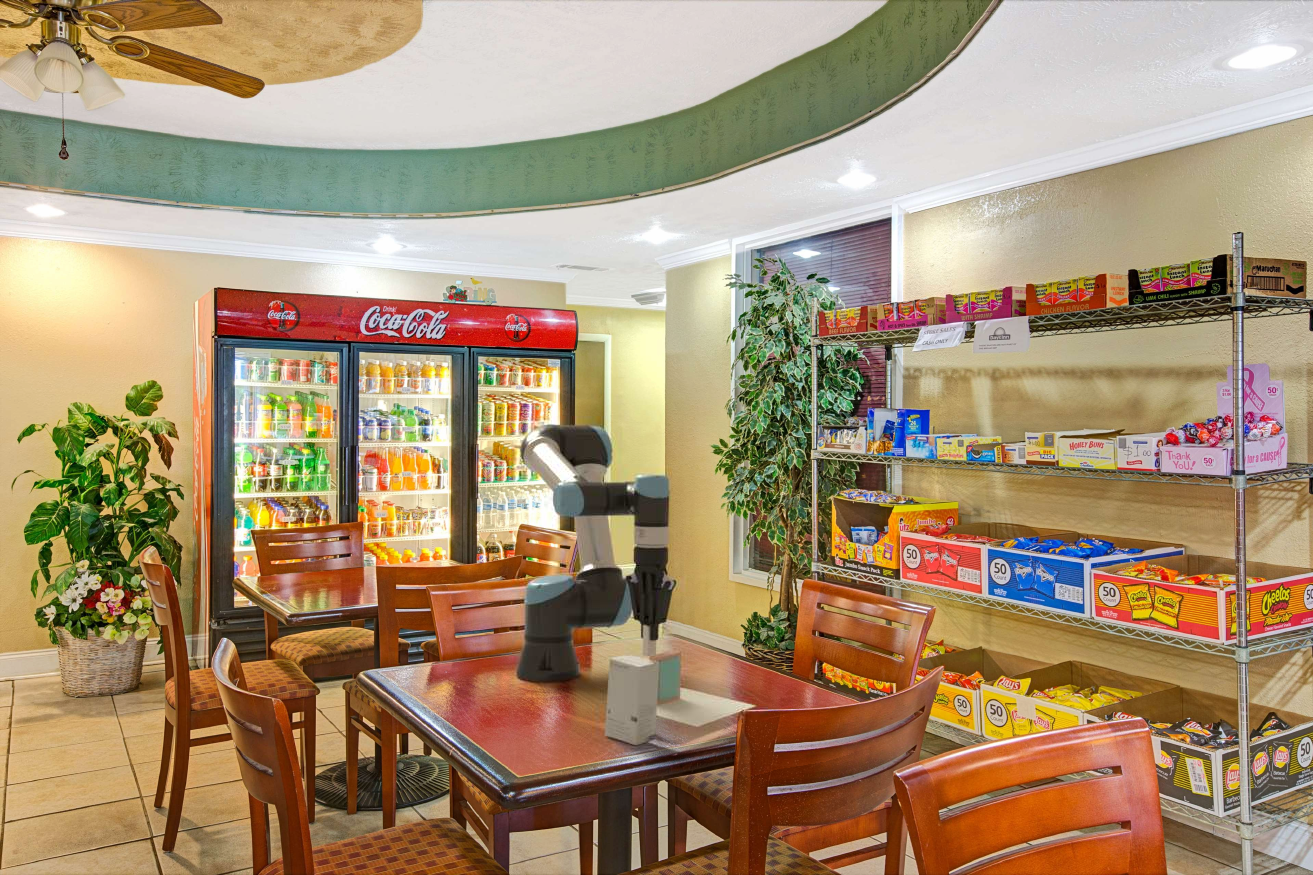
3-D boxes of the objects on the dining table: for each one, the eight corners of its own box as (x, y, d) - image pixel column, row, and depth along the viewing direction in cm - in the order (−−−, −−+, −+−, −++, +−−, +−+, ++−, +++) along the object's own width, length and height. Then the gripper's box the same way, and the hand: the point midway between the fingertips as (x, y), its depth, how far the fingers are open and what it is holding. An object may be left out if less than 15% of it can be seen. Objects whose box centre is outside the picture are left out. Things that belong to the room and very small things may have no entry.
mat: (608, 706, 189) (608, 701, 189) (669, 688, 204) (669, 684, 204) (697, 731, 173) (697, 726, 173) (756, 710, 188) (756, 705, 188)
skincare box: (604, 736, 169) (605, 657, 169) (625, 729, 174) (627, 652, 174) (637, 746, 164) (639, 665, 164) (658, 738, 168) (660, 659, 168)
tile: (648, 703, 188) (649, 656, 188) (673, 696, 194) (674, 650, 194) (656, 705, 186) (657, 657, 187) (681, 698, 192) (682, 651, 193)
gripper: (617, 544, 195) (615, 652, 195) (662, 549, 187) (660, 662, 186) (640, 542, 201) (638, 647, 200) (685, 546, 192) (683, 656, 192)
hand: (649, 654), depth 193 cm, fingers closed
